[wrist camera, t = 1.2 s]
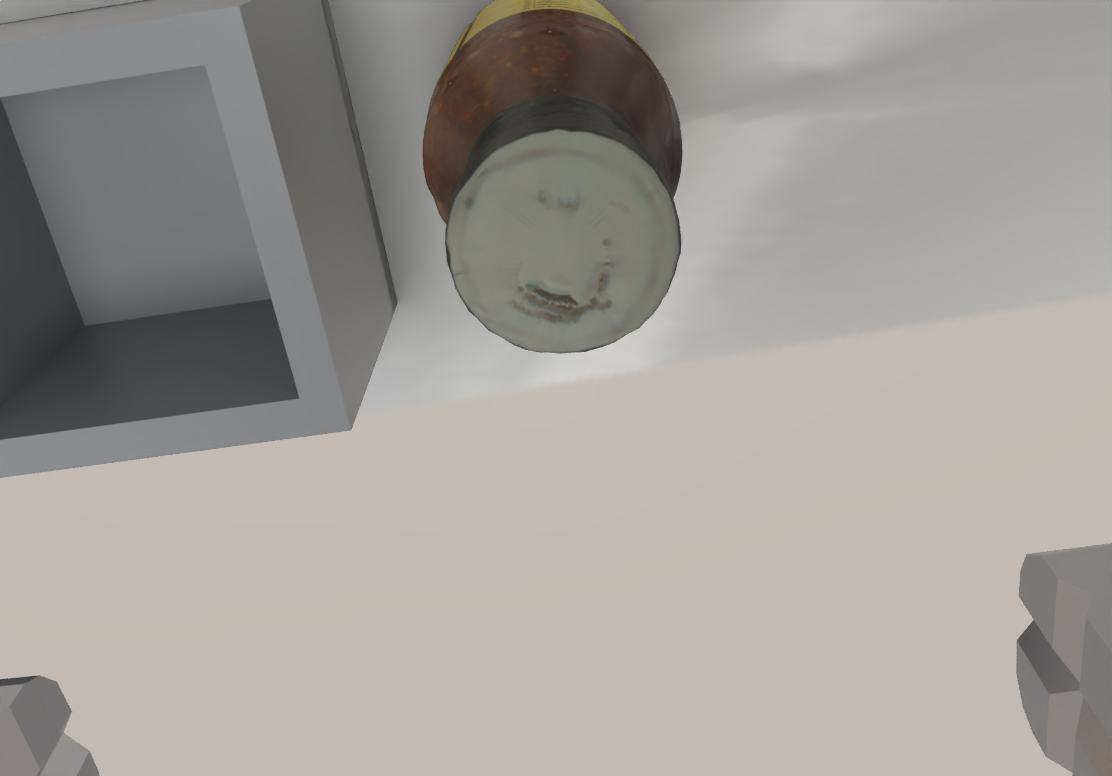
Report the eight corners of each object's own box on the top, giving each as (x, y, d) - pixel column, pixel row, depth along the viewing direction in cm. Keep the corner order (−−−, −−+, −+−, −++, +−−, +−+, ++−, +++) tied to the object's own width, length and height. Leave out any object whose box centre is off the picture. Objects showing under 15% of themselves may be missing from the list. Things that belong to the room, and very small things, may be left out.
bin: (320, -29, 34) (239, 5, 25) (397, 303, 39) (351, 430, 30) (-45, 31, 35) (-251, 85, 26) (75, 349, 40) (-63, 486, 31)
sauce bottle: (545, 205, 38) (539, 502, 20) (415, 76, 36) (277, 277, 18) (683, 72, 36) (813, 269, 18) (552, -72, 34) (552, -11, 16)
